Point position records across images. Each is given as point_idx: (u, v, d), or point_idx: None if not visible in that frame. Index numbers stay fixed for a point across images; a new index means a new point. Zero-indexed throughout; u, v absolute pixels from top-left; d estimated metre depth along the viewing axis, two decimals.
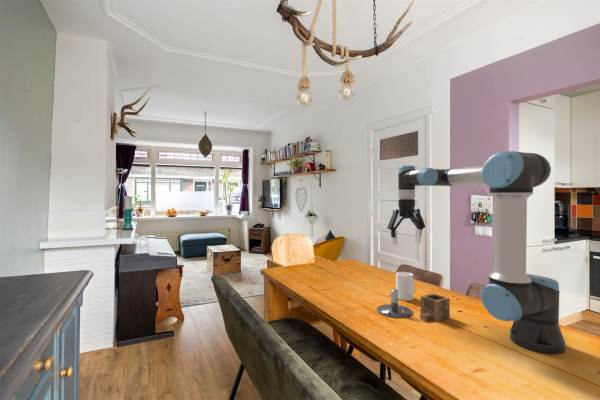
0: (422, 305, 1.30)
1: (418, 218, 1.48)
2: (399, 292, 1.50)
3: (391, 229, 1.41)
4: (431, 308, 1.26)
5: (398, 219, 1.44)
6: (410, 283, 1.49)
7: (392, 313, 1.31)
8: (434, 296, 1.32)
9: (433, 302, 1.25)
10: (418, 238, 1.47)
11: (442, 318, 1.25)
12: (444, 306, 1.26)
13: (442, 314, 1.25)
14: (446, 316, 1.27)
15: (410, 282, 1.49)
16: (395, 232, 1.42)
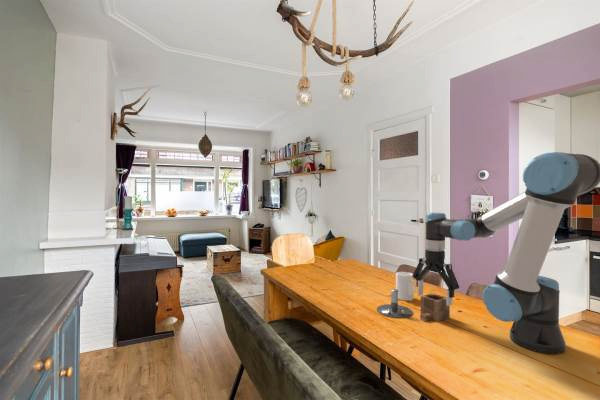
0: (422, 305, 1.30)
1: None
2: (399, 292, 1.50)
3: (413, 277, 1.37)
4: (431, 308, 1.26)
5: None
6: (410, 283, 1.49)
7: (392, 313, 1.31)
8: (434, 296, 1.32)
9: (433, 302, 1.25)
10: None
11: (442, 318, 1.25)
12: (444, 306, 1.26)
13: (442, 314, 1.25)
14: (446, 316, 1.27)
15: (410, 282, 1.49)
16: (418, 282, 1.35)
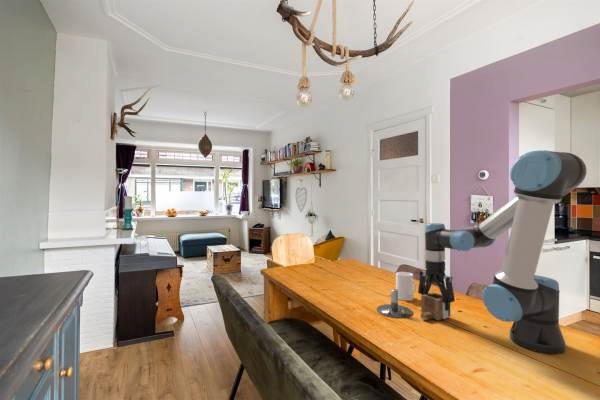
0: (423, 304, 1.29)
1: None
2: (399, 292, 1.50)
3: (419, 293, 1.34)
4: (432, 307, 1.26)
5: None
6: (410, 283, 1.49)
7: (392, 313, 1.31)
8: (435, 295, 1.32)
9: (434, 301, 1.25)
10: None
11: None
12: None
13: None
14: None
15: (410, 282, 1.49)
16: None
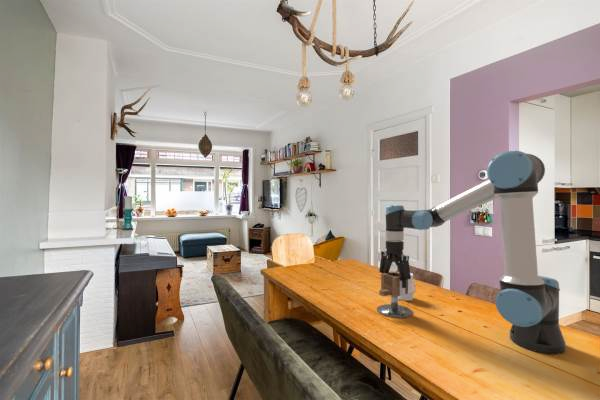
0: (382, 282, 1.35)
1: None
2: None
3: (380, 272, 1.40)
4: (390, 284, 1.32)
5: None
6: (410, 283, 1.49)
7: (392, 313, 1.31)
8: (394, 274, 1.38)
9: (391, 278, 1.31)
10: None
11: None
12: None
13: None
14: None
15: (410, 282, 1.49)
16: None
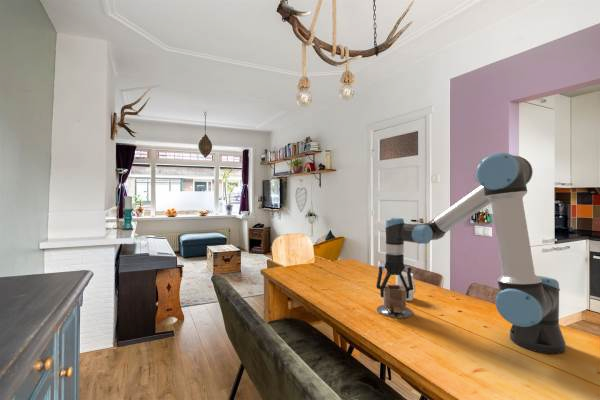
0: (388, 298, 1.31)
1: (408, 277, 1.34)
2: None
3: (378, 288, 1.35)
4: (398, 298, 1.31)
5: (385, 276, 1.35)
6: None
7: (392, 313, 1.31)
8: (389, 286, 1.38)
9: (400, 292, 1.31)
10: None
11: None
12: None
13: None
14: None
15: None
16: (383, 292, 1.35)
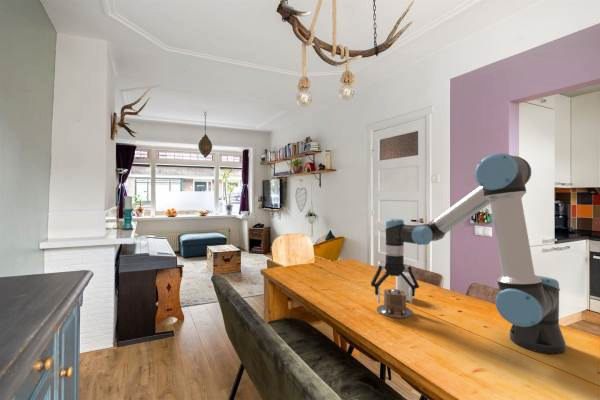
0: (388, 303, 1.31)
1: None
2: None
3: None
4: (398, 303, 1.31)
5: (383, 276, 1.35)
6: None
7: None
8: (389, 291, 1.38)
9: (401, 297, 1.31)
10: (410, 299, 1.33)
11: None
12: None
13: None
14: None
15: None
16: (378, 289, 1.35)
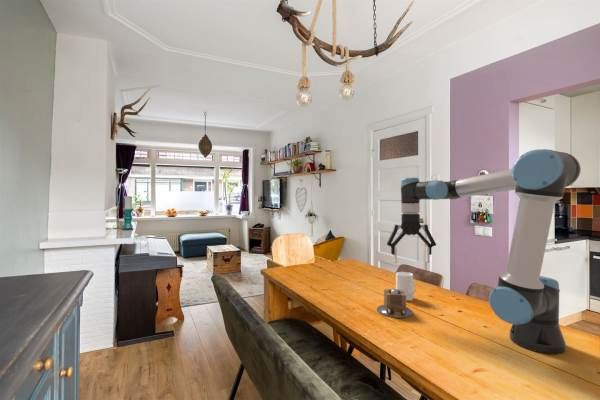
0: (388, 303, 1.31)
1: (427, 235, 1.33)
2: None
3: (388, 245, 1.34)
4: (398, 303, 1.31)
5: (399, 235, 1.34)
6: (410, 283, 1.49)
7: None
8: (389, 291, 1.38)
9: (401, 297, 1.31)
10: (427, 257, 1.33)
11: None
12: None
13: None
14: None
15: (410, 282, 1.49)
16: (394, 249, 1.34)
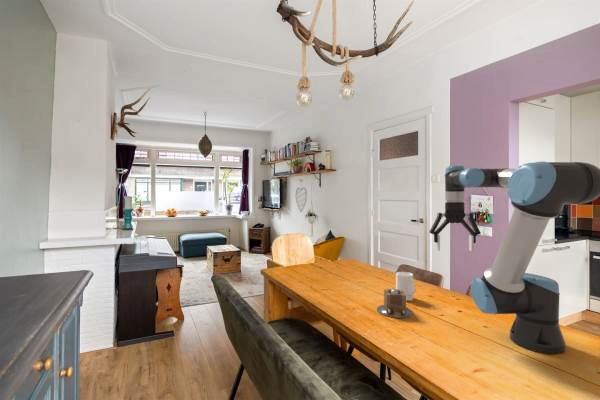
0: (388, 303, 1.31)
1: (471, 223, 1.33)
2: None
3: (432, 233, 1.34)
4: (398, 303, 1.31)
5: (443, 223, 1.35)
6: (410, 283, 1.49)
7: None
8: (389, 291, 1.38)
9: (401, 297, 1.31)
10: (471, 245, 1.33)
11: None
12: None
13: None
14: None
15: (410, 282, 1.49)
16: (437, 237, 1.34)
